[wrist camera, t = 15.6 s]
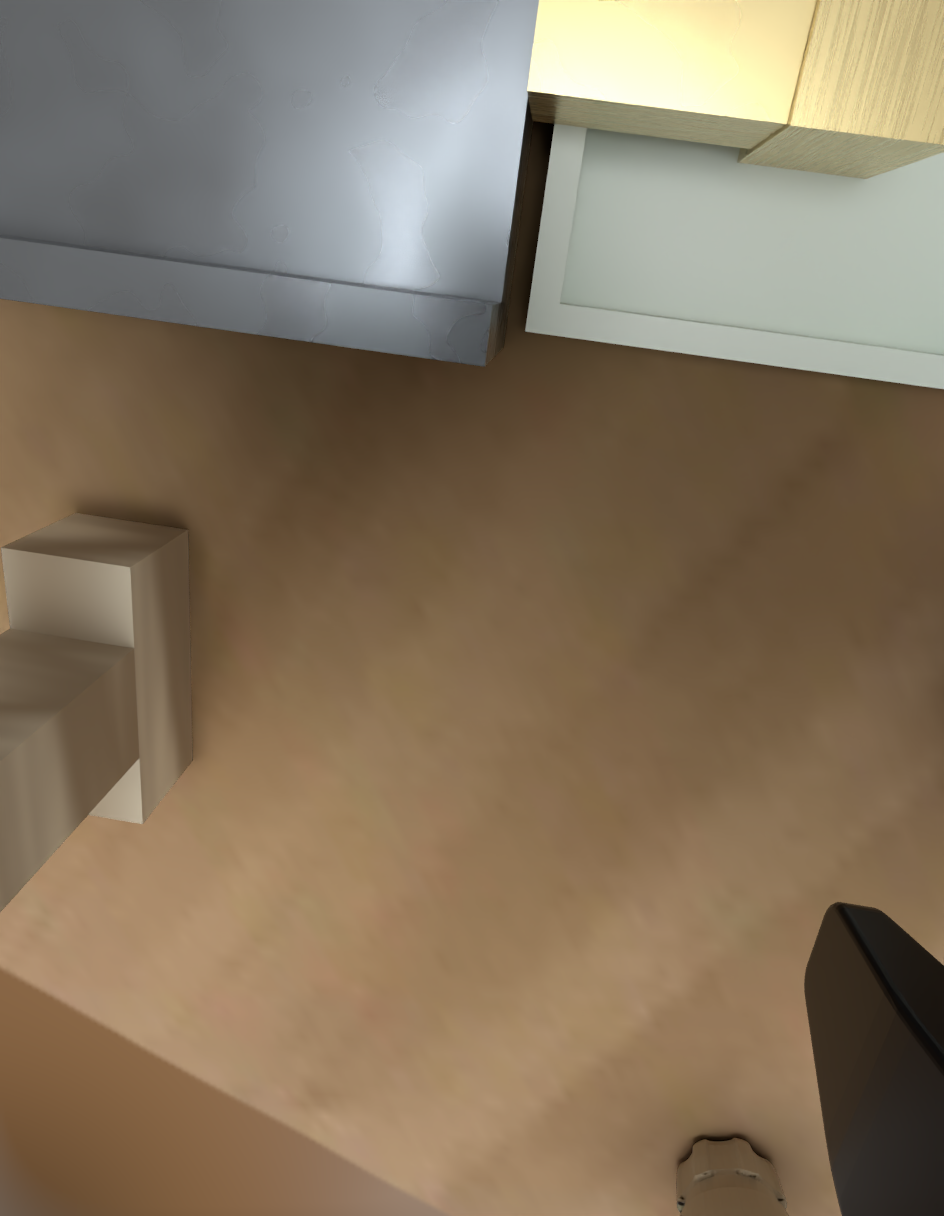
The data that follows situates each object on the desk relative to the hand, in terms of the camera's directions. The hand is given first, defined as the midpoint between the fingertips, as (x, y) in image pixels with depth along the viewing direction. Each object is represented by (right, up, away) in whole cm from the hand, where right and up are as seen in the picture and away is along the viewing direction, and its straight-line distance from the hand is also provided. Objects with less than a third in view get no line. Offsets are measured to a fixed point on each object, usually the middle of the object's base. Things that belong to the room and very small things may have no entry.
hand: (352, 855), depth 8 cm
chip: (+5, +13, +6) cm, 15 cm away
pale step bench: (-8, +1, +14) cm, 16 cm away
